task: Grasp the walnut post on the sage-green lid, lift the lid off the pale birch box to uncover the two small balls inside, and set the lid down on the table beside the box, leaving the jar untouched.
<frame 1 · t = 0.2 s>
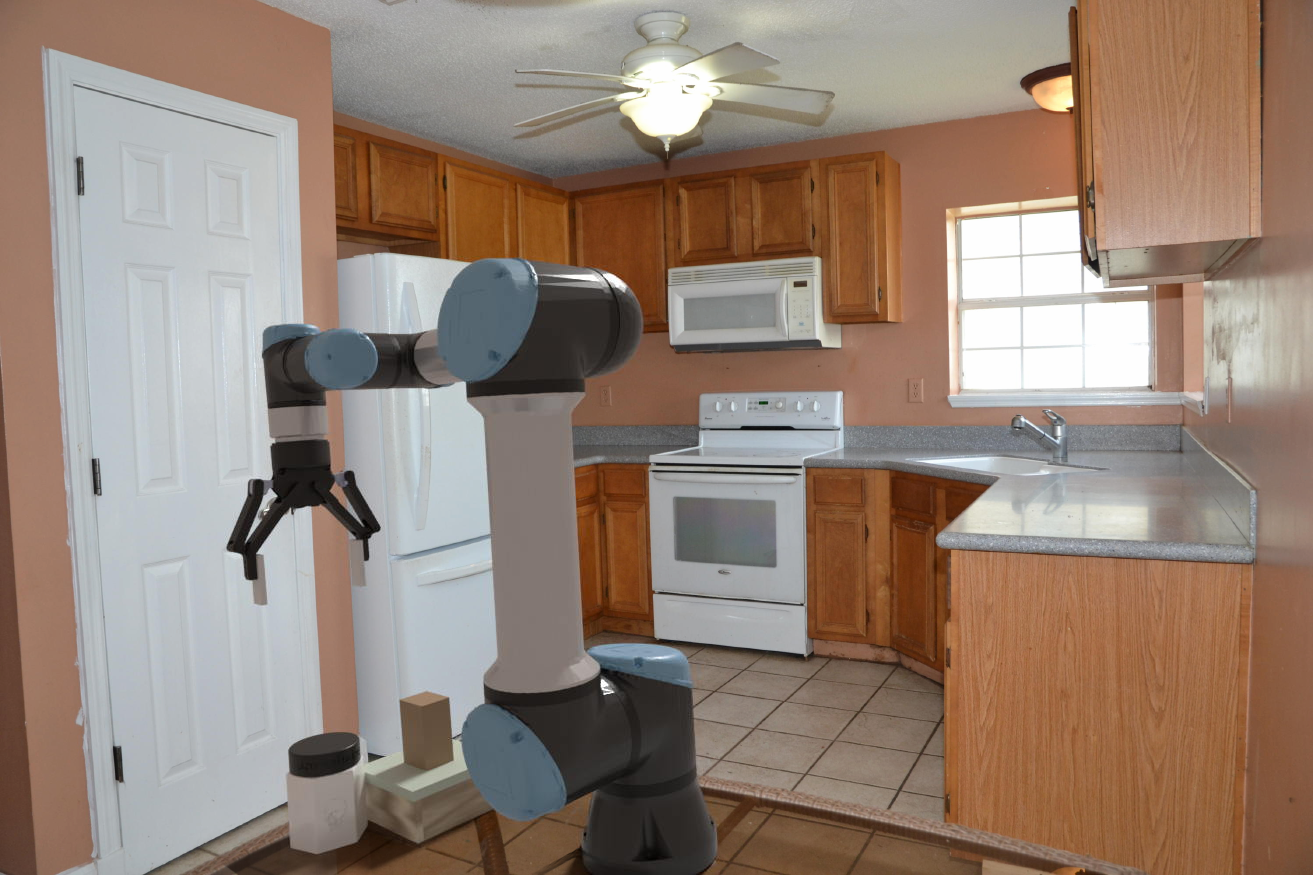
hand: (311, 594, 122), 28 cm above the table, tool pointing down, fingers open, 13 cm apart
ball b: (407, 812, 113), point 1 cm above the table, touching box
box: (433, 817, 112), on the table
jar: (330, 843, 108), on the table
ball a: (457, 810, 112), point 1 cm above the table, touching box
lid: (429, 770, 112), point 6 cm above the table, touching box
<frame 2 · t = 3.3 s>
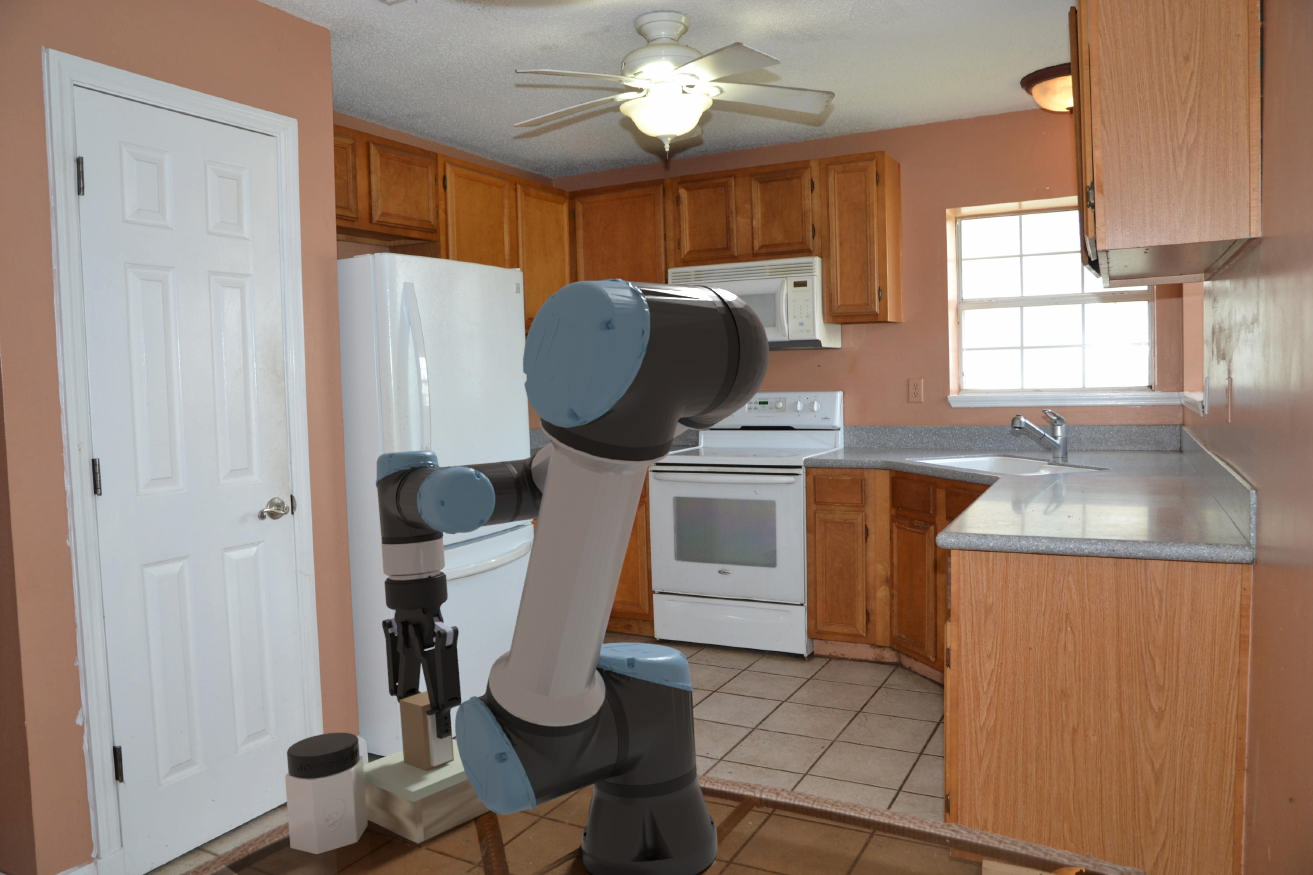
hand: (428, 756, 112), 8 cm above the table, tool pointing down, fingers closed on lid, 5 cm apart
lid: (429, 770, 112), point 6 cm above the table, touching box, gripper
everything else where it was.
when the fingers open (3 cm above the table, at t = 9.7 s): lid drops 2 cm, on the table.
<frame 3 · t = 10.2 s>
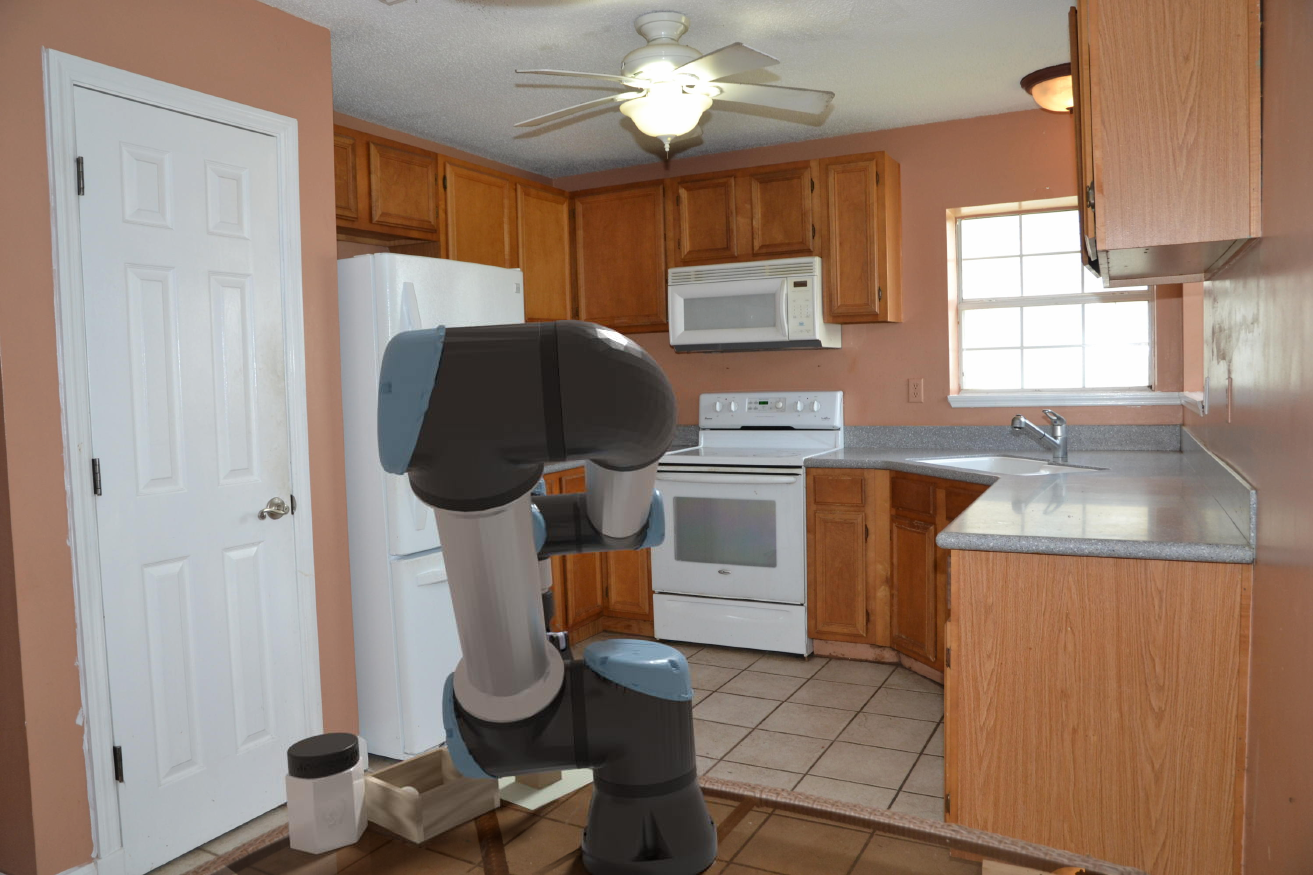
hand: (536, 749, 120), 5 cm above the table, tool pointing down, fingers open, 12 cm apart
lid: (539, 788, 120), on the table
everything else where it was.
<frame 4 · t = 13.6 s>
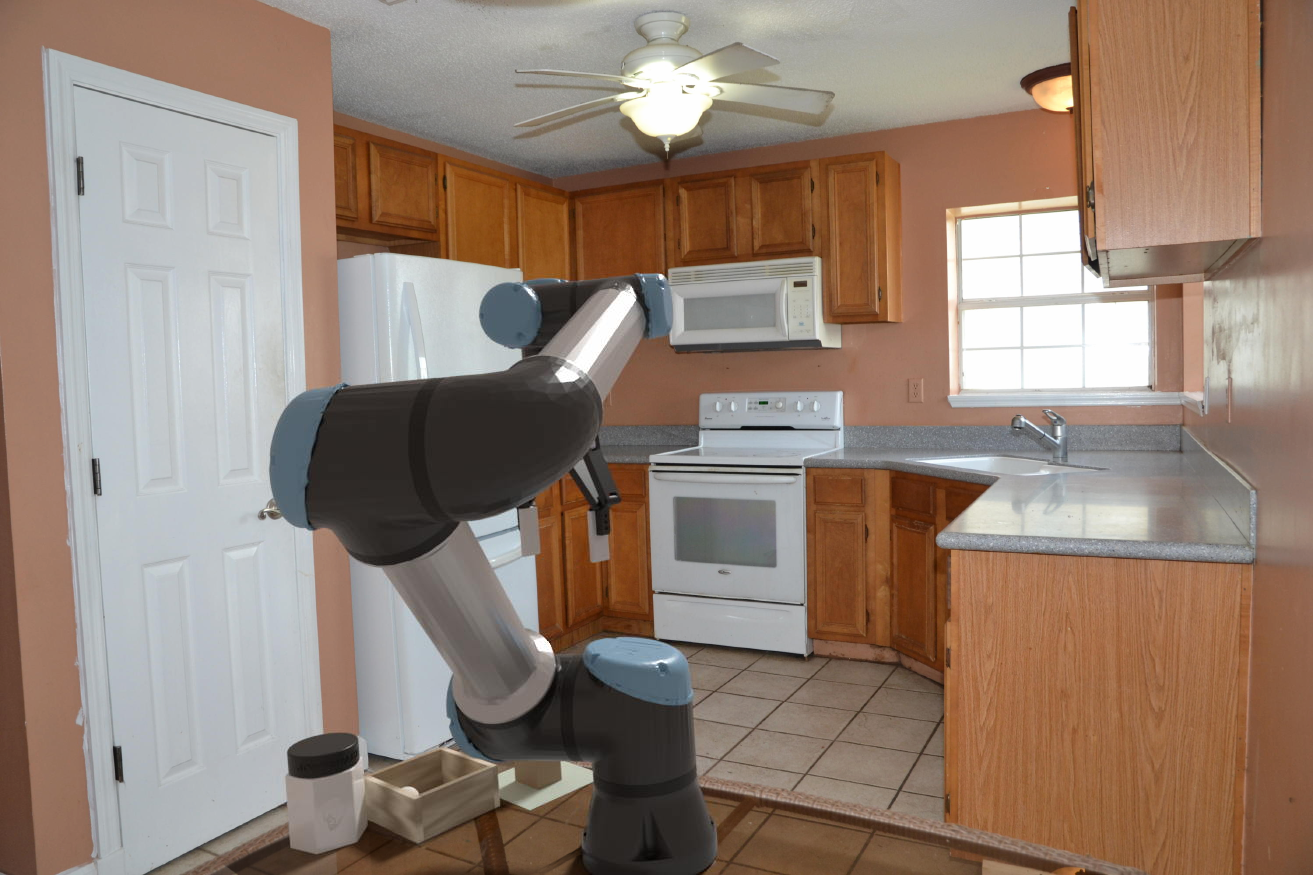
hand: (564, 558, 118), 31 cm above the table, tool pointing down, fingers open, 13 cm apart
nothing on the table moved.
at the end: lid inside the target area (0.0 cm from its centre), on the table; lid touching table; lid tilted 0° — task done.
